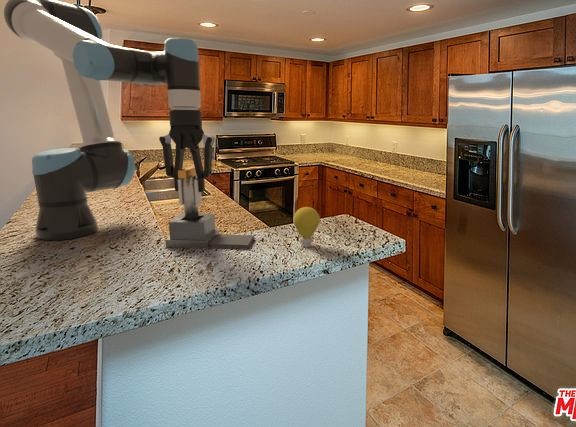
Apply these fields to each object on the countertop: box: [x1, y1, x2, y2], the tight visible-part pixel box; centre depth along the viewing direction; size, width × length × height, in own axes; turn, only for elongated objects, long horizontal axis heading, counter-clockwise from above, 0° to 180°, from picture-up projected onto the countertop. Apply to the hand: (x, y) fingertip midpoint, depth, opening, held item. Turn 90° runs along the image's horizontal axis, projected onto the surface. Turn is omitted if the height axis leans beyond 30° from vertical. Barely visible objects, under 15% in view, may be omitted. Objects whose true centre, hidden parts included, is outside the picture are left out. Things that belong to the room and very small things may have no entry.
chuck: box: [164, 212, 221, 250], centre depth 95 cm, size 11×10×6 cm
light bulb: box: [292, 206, 321, 248], centre depth 92 cm, size 7×7×10 cm
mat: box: [209, 233, 255, 250], centre depth 95 cm, size 10×8×1 cm
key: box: [178, 165, 200, 220], centre depth 93 cm, size 9×4×14 cm, turn 174°
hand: (190, 203), depth 94 cm, fingers closed on key, 4 cm apart
